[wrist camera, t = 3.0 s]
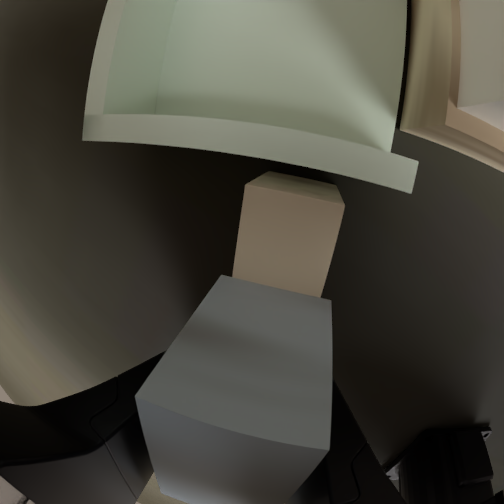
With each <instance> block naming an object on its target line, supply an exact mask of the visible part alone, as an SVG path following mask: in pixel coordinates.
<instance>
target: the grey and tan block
mask: <svg viewBox="0 0 504 504" xmlns="http://www.w3.org/2000/svg"><path fill="white" fill-rule="evenodd" d="M344 208H345V204H344V202H343V200H342V197H341V195H340V193H339V190H338V188H337V186H336V185H333V184H329V183H325V182H320V181H316V180H311V179H307V178H302V177H297V176H292V175H287V174H282V173H277V172H272V171H268V172H266V173H264V174H263V175H261V176H259V177H257V178H256V179H254V180H252V181H251V182H249V183H247V184H245V190H244V197H243V204H242V211H241V218H240V224H239V231H238V238H237V245H236V253H235V260H234V267H233V274H232V277H229V276H225V275H221V276H220V277H219V279H218V280H217V281H216V283H215V284H214V286H213V287H212V288H211V290H210V291H209V292H208V294H207V295H206V297H205V298H204V299H203V301H202V302H201V304H200V305H199V306H198V308H197V309H196V311H195V312H194V313H193V315H192V316H191V318H190V319H189V320H188V322H187V323H186V324H185V326H184V327H183V329H182V330H181V331H180V333H179V334H178V336H177V337H176V339H175V340H174V341H173V343H172V344H171V346H170V347H169V348H168V350H167V351H166V353H165V354H164V355H163V357H162V358H161V360H160V361H159V362H158V364H157V365H156V367H155V368H154V370H153V371H152V372H151V374H150V375H149V377H148V378H147V379H146V381H145V382H144V384H143V385H142V387H141V388H140V389H139V391H138V392H137V394H136V395H135V399H136V404H137V409H138V413H139V418H140V422H141V426H142V430H143V434H144V438H145V442H146V445H147V449H148V452H149V456H150V459H151V463H152V466H153V469H154V472H155V476H156V479H157V482H158V485H159V488H160V491H161V493H162V494H165V495H167V496H170V497H173V498H175V499H178V500H181V501H184V502H186V503H189V504H284V503H285V502H286V501H287V500H288V499H289V498H290V497H291V496H292V495H293V494H294V493H295V491H296V490H297V489H298V488H299V487H300V486H301V485H302V483H303V482H304V481H305V480H306V479H307V478H308V476H309V475H310V474H311V473H312V472H313V470H314V469H315V468H316V467H317V465H318V464H319V463H320V462H321V460H322V459H323V458H324V457H325V455H326V454H327V453H328V451H329V449H330V432H331V410H332V308H331V300H328V299H323V298H320V297H321V294H322V291H323V287H324V284H325V280H326V277H327V273H328V270H329V266H330V263H331V259H332V255H333V252H334V248H335V244H336V240H337V236H338V233H339V229H340V225H341V221H342V216H343V212H344Z"/></svg>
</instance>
